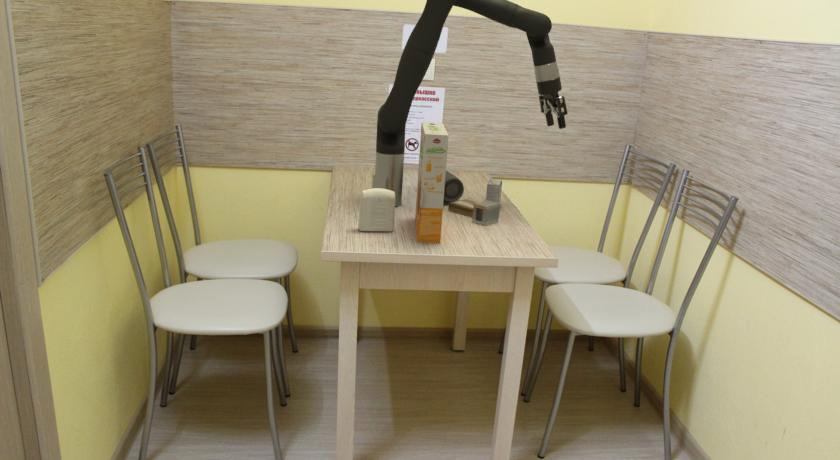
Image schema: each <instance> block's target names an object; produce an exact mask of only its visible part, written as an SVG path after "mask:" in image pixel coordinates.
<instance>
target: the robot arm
mask: <svg viewBox="0 0 840 460" xmlns="http://www.w3.org/2000/svg"><path fill="white" fill-rule="evenodd" d="M453 7H457V8H462V9H464V10H468V11H471V12H473V13H475V14H478V15H480V16H483V17H485V18H487V19H489V20H491V21H493V22H496V23H499V24H501V25H504V26H506V27H508V28H513V29H518V30H520V31H522V32H525V34H526V35H525V36H526V37H527V40H528V44H529V47H530V51H531V55H532V62H533V66H534V75H535V77H534V78H535V83H536V88H537V93H538V99H539V106H540V112H541V113H542V114H543V115H544V116H545V121H546V125H547V127H552V126H554V125H555V121H554V116H553V114H555V116H556V117H557V118H556V120H557V124H558V125H557V126H558V129H559V130H562V129H566V128H567V125H566V124H567V123H566V119H565V116H566V115H568V108H567V105H566V104H567V103H566V99H565V96H564V95H561V96H560V95H559V93H560V91H562V89H563V87H562V82H561V76H560V69H559V65H558V63H557V59H556V52H555V49H554V46H553V44H552V43H551V39H550V35H549V34H550V32H551V31H552V27H553V25H552V24H553V23H552V20H551V18H550V17H549V16H548V15H546V14H545V13H542V12H539V11H536V10H534V9H530V8H527V7H523V6H521V5H519V4H518V3H515V2H512V1H510V0H426V2H425V5H424V7H423V11H422V13H421V15H420V17H419V19H418V21H417V22H416V24H415V25H414V28H413V29H412V31H411V33H410V35H409V36H408V39H407V41H406V43H405V46H404V48H403V50H402V54H401V55H400V56H401V57H400V58H399V62H398V65H397V69H396V73H395V77H394V82H393V85H392V88H391V90H390V92H389V94H388V96H387V98H386V100H385V102H384V103H383V104H382V105H380V107H379V109H378V112H377V120H376V121H377V122H376V141H375V142H376V143H375V147H376V148H375V165H374V166H375V167H374V174H373V175H372V181H371V183H372V185H371V189H373V188H382V189H388V190H391V191H393V192H394V193H395V198H396V201H395V207H399V206H401V205H402V198H403V182H404V165H405V151H406V150H405V149H406V127H407V126H406V125H407V121H408V117H409V113H410V110H411V106H412V104H413V100H414V97H415V95H416V93H417V91H418V89H419V87H420V86H421V84H422V82H423V79H424V78H425V76H426V74H427V71H428V69H429V67H430V65H431V62H432V60H433V58H434V55H435V53H436V49H437V46H438V45H439V41H440V38H441V34H442V32H443V28H444V25H445V22H446V20H447V18H448V17H449V14H450V12H451V10H452V8H453Z"/></svg>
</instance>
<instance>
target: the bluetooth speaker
mask: <svg viewBox="0 0 840 460" xmlns="http://www.w3.org/2000/svg"><path fill="white" fill-rule="evenodd" d="M464 187H465V186H464V184H463V182H462V180H460V179H459V178H458V177H457V176H456V175H454V174H453V173H451V172H450V171H448V170H446V175H445V187H444V200H443V202H445V201H446V202H448V203H451V202H456V201H459V200H461V198H462V197H463V195H464V193H465V188H464Z"/></svg>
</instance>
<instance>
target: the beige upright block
mask: <svg viewBox="0 0 840 460" xmlns="http://www.w3.org/2000/svg"><path fill="white" fill-rule="evenodd" d="M395 201H396V198H395V193H394V192H393V191H391V190H388V189H382V188H373V189H372V188H368V189H365V190H362V191H361V195H360V198H359V216H358V230H359V231H360V232H393V231H394V230H395V229H394V227H395V215H396V214H395V213H396V206H395Z"/></svg>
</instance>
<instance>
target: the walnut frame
mask: <svg viewBox="0 0 840 460" xmlns="http://www.w3.org/2000/svg"><path fill="white" fill-rule="evenodd" d="M478 202H482V200H481V201H480V200H477V199H474V198H470V197H469V198H463V199H459V200H457V201H454V202H448V206H447V207H448V209H447V210H448V211H449V212H452V213H456V214H460V215H463V216H466V217H469V218H473V207H474V203H478Z"/></svg>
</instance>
